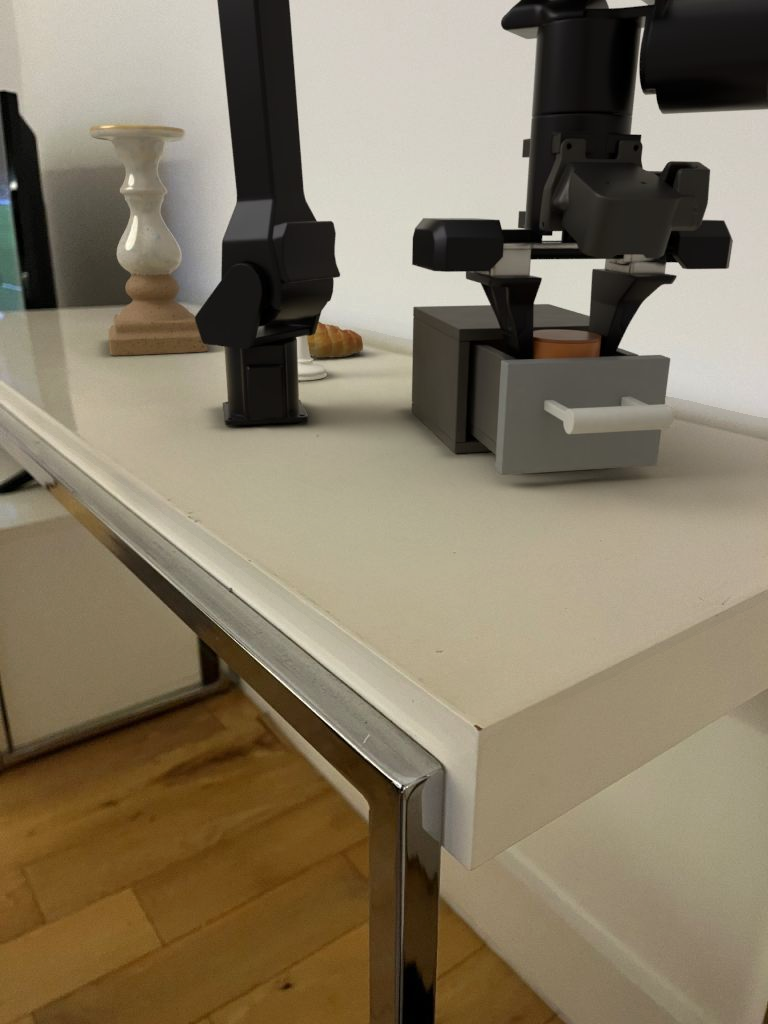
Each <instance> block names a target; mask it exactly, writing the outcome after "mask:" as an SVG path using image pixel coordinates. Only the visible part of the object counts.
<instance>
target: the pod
mask: <svg viewBox="0 0 768 1024" xmlns="http://www.w3.org/2000/svg"><path fill="white" fill-rule="evenodd" d="M600 346H601V335H599V334H596V333H592V332H586V331H577V330H537V331H533V359H552V358H582V357H599V356H600Z"/></svg>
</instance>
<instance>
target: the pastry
mask: <svg viewBox="0 0 768 1024" xmlns="http://www.w3.org/2000/svg"><path fill="white" fill-rule="evenodd" d="M307 339H308V346H309V352H310V356H313V357H315V358H325V357H330V358H331V359H333V358H336V357H337V358H338V359H339V358H341V357H345V358H346V357H348V356H352V355H353V354H361V352H362V351H364V343H363V337H362V335H360V334H359V333H357V332H355V331H354V330H352V329H341V328H340V327H339V325H333V324H328V323H322V322H321V321H319V322H318V325H317V329H316V333H315V334H314V335H311V336H307Z"/></svg>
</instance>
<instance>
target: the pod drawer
mask: <svg viewBox="0 0 768 1024" xmlns="http://www.w3.org/2000/svg"><path fill="white" fill-rule="evenodd" d="M670 366H671V357H668V356H665V355H663V354H647V355H646V354H645V355H643V354H642V355H639V354H638V353H634V352H632V351H629V350H626V349H624V348H620V347H618V348H617V350H616V353H615V355H614V356H611V357H582V358H552V359H523V360H516V359H515V358H513V357H511V356H509V353H508V350H507V347H506V344H505V341H504V340H479V341H470V349H469V373H468V397H467V421H466V430H467V431H468V432H469V433H470V434H472V435H473V436H474V437H475V438H476V439H478V440H479V441H480V442H481V443H482V444H483V445H485V446H486V447H487V448H488V449H489V450H490V452H492V453H493V454H494V455H495V463H494V464H495V465H494V469H495V471H497V472H498V473H499V474H500V475H501V476H507V475H519V474H520V475H522V474H537V473H553V472H555V473H556V472H571V471H586V470H600V469H601V470H603V469H617V468H618V469H619V468H633V467H649V466H657V465H658V459H659V450H660V444H661V443H660V442H661V437H662V436H661V434H662V430H668V429H670V428H671V427H672V425H673V423H674V417H675V415H674V410H673V408H672V406H671V405H670V404H667V403H666V397H667V396H666V395H667V390H668V389H667V388H668V381H669V375H670V374H669V373H670Z"/></svg>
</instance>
